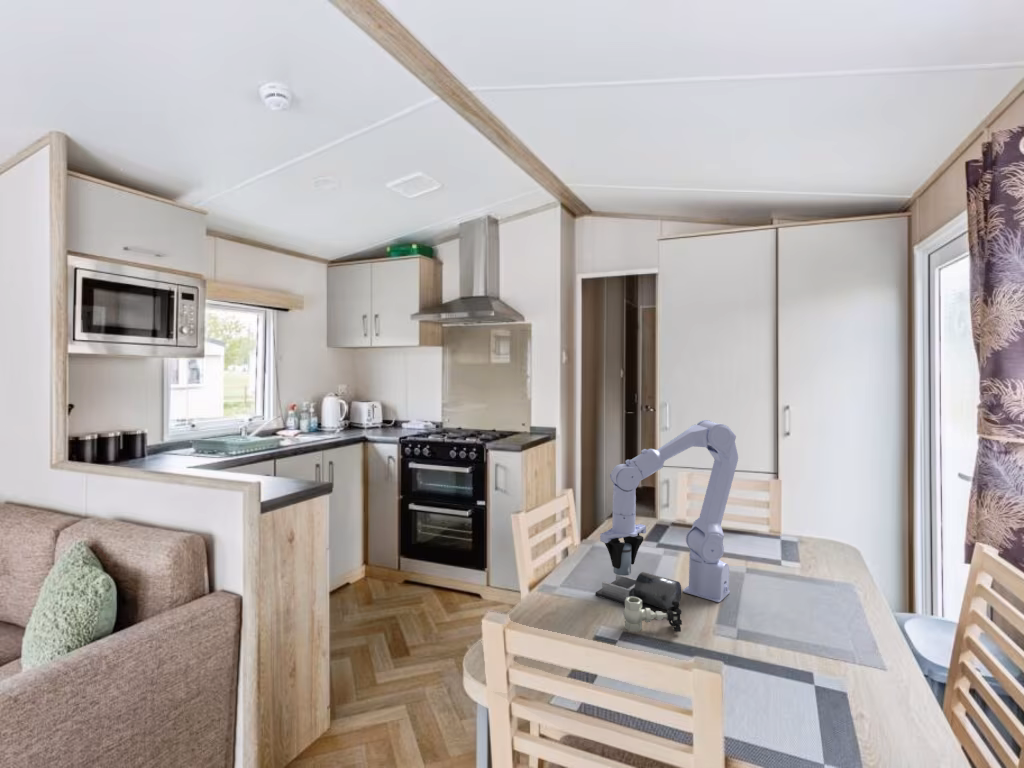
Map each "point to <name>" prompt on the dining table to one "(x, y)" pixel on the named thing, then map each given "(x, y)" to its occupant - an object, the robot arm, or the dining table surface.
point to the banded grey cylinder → (625, 561)
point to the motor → (642, 590)
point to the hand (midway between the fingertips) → (623, 565)
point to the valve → (649, 615)
